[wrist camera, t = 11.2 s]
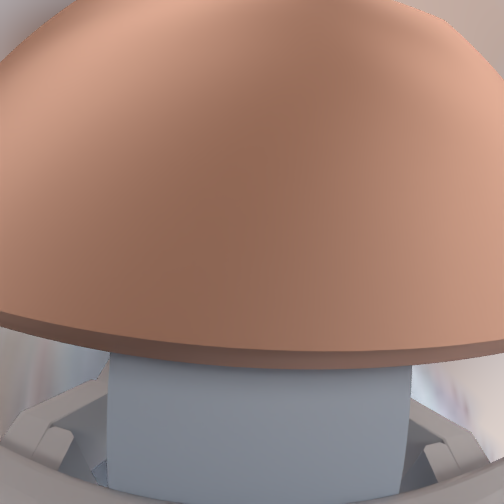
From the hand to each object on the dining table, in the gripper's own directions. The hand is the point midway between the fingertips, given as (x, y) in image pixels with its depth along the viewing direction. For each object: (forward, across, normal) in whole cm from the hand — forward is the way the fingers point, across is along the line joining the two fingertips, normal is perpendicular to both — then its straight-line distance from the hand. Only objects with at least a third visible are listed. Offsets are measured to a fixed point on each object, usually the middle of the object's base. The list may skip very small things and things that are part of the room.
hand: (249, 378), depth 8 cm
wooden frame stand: (+11, 0, +8) cm, 13 cm away
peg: (+4, 0, +4) cm, 5 cm away
